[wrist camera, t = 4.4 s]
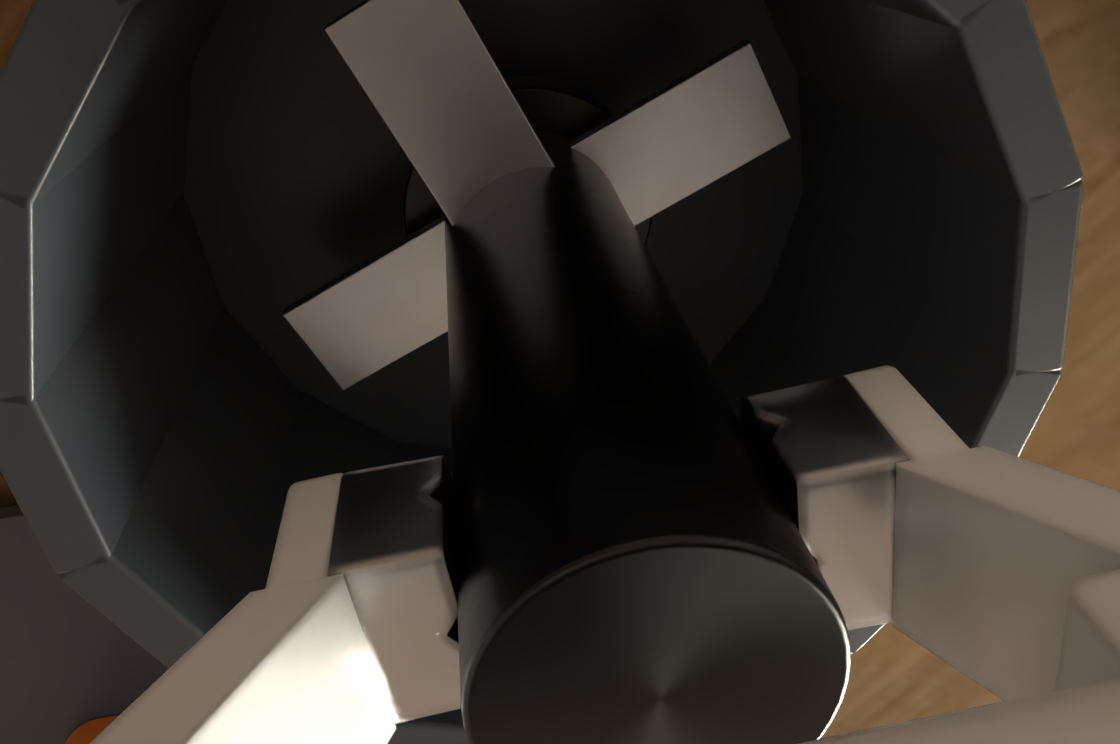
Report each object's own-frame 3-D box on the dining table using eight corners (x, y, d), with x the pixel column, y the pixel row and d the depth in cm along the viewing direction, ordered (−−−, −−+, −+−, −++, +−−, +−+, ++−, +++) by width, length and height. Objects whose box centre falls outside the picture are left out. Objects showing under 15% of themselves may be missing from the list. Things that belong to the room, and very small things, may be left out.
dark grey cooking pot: (816, -474, 15) (1196, -800, 8) (837, 494, 24) (1021, 774, 17) (-49, -326, 15) (-535, -519, 7) (304, 604, 24) (249, 943, 16)
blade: (631, -186, 15) (1094, -270, 5) (832, 270, 19) (1312, 776, 9) (163, 110, 16) (-322, 582, 6) (448, 478, 20) (464, 1135, 10)
